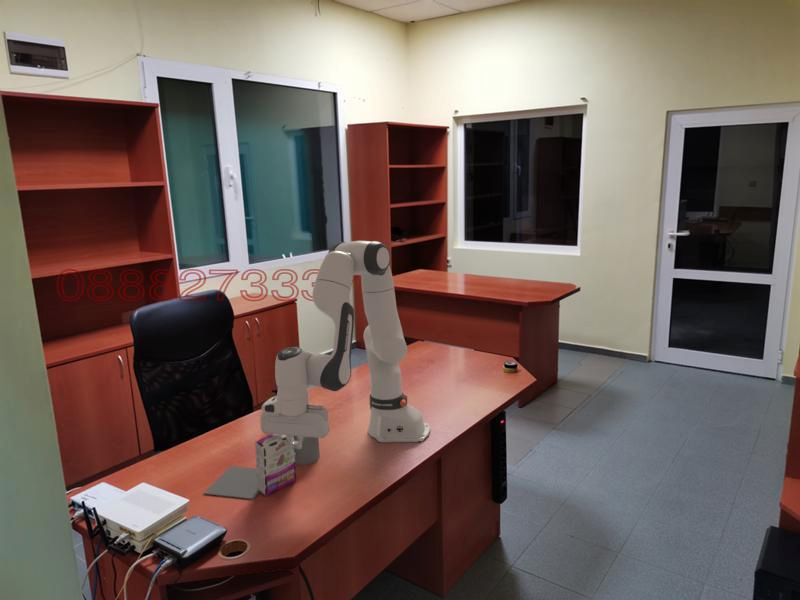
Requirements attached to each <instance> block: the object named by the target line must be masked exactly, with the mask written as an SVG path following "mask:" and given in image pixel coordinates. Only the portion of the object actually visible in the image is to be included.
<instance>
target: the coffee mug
mask: <svg viewBox="0 0 800 600" xmlns="http://www.w3.org/2000/svg"><path fill="white" fill-rule="evenodd" d="M319 439H320V438H315V437H304V439H303V441H302V448H301V449H295V453H296V455H295V458H296V466H297V465H298V466H299V465H301V466H305V465H310V464H312V463H315V462H317V461H318V460H319V459H320V440H319ZM299 440H300V439H298V436H295V441H299Z"/></svg>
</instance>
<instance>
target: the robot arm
mask: <svg viewBox="0 0 800 600" xmlns="http://www.w3.org/2000/svg"><path fill="white" fill-rule="evenodd" d="M390 264H391V253H390V250H389V249H388V247H387V245H386V244H385V243H382V242H380V241H377V240H373V241H369V240H355V241H353V240H352V241H339V242H337V243H334V244H333V245H332V246H331V247H330V248H329V250H328V253H327V254H326V255H325V256H324V258H323V261H322V263H321V265H320V267H319V270H318V273H317V276H316V279H315V281H314V286H313V287H312V288H313V289H312V300H313V303H314V305H315V306H316V308H317V310H319V311H320V312H321V313H323V314H324V315H326V316H328V318H330V319H331V320H332V321H333V323H334V327H335V329H334V339H333V348H332V352H331V354H325V353H320V352H315V351H309V350H308V351H307V350H303V349H302V348H301V347H299V346H290V347H286V348H283V349H282V350H280V351H279V352H278V353H277V354H276V357H275V358H276V359H275V363H274V364H275V365H274V368H275V369H274V375H275V376H274V377H275V383H276V386H277V393H276V395H275V396H272V397H270V398H269V399H267V400H266V401H265V402H263V404H262V405H261V411H262V413H261V415H260V430H261V432H262V433H263V434H267V435H272V434H279V435H286V439H287V440H288V441H289V443H290V446H291V449H301V448H302V441H303V439H304V437H315V438H319V439H324V438H326V436H328V435H329V433H330V423H329V422H330V421H329V410H328V409H327V408H326V407H324V406H323V405H314V404H310V402H309V401H310V400H309V399H310V398H309V390H308V388H307V387H308V386H310V385H311V386H314V387H318V388H322V389H325V390H329V391H331V392H338V391H340V390H341V389H343V388H344V387H346V386H347V384H348V383H349V382H350V381H351V377H352V365H351V364H352V363H351V362H352V361H351V358H352V345H353V337H354V327H355V310H354V306H352V305H351V303H350V293H351V288H352V285H353V278H354V276H360V278H361V279H360V280H361V281H360V282H361V283H360V284H361V293H362V301H363V308H364V314H365V317H366V320H367V324H368V325H367V326H366V327H365V329H364V331H363V341H364V346H365V352H366V353H365V354H366V359H367V364H368V370H369V382H370V383H369V385H370V394H369V398H368V399H369V407H370V408H369V409H370V419H369V423H368V424H369V425H368V429H367V434H368V435H369V436H370V437H372V438H374V439H376V441H377V442H378V443H419V442H418V441H421V442H423V441H425V440H426V439H427V438H428V437H427V436H429V435H430V433H429V432H431V426H430V424H429V423H428V422H425V421H424V417H423V415H422V413H421V411H420V410H418V409H417V408H415V406H412V405H411V404H409V402H408V396H409V395H408V393H406V394H404V392H403V391H402V390H403V389H402V371H401V369H400V365H399V363H400V362H402V361H403V360H404V359H405V358H406V356H407V352H408V345H407V342H406V341H405V337H404V333H403V332H404V331H403V327H402V325H401V324H402V323H401V321H400V317H399V312H398V306H397V300H396V291H395V285H394V284H395V283H394V279H393V278H394V277H393V274H392V269H391V267H390ZM292 436H298V439H300V440H299V441H295V440H294V439H293V437H292ZM426 437H427V438H426ZM425 438H426V439H425ZM424 439H425V440H424Z"/></svg>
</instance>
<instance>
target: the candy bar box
mask: <svg viewBox="0 0 800 600" xmlns="http://www.w3.org/2000/svg"><path fill="white" fill-rule="evenodd" d="M292 437H293V439H294V440H295V436H292ZM295 455H296V453H295V449H291V446H290V443H289V441H288V440H287V439H286V435H279V434H268V436H264V437H262V438H260V439H258V440H256V441H255V463H256V465H255V467H256V470H257V489H258V490H259V491H260V493H262V494H263V496H265V497H267V496H270V495H272V494H274V493H275V492H278V491H279V490H282V489H284V488H285V487H286V486H289V485H291V484H292V483H294V482H296V481H297V464H296V458H295Z"/></svg>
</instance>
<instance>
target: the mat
mask: <svg viewBox="0 0 800 600" xmlns="http://www.w3.org/2000/svg"><path fill="white" fill-rule="evenodd" d="M260 493H261V492H260V491H259V490H258V489H257V470H256V468H255V467H244V466H243V467H242V466H232V465H231V466H229V468H227V470H225V471H224V472H223V473H222V474H221V475H220V476H219V477H218V478H217V479H216V480H215V481H214V482H213V483H212V484H211V485H210V486H209V487H208V488H207V489H206V490H205V491H204V492H203V495H205V494H210V495H209V496H214V495H216V496H217V497H223V496H225V498H232V497H234V499H241V498H244V499H243V500H250V499H251V500H252V501H254V500H255V499H256V497H257V496H258V495H259V494H260Z"/></svg>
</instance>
